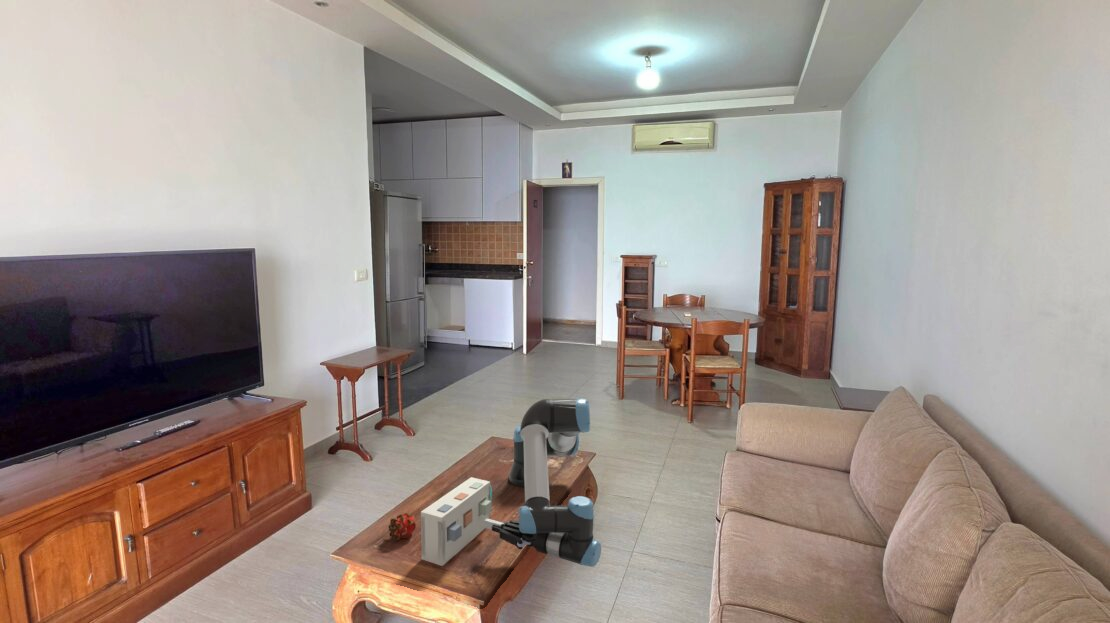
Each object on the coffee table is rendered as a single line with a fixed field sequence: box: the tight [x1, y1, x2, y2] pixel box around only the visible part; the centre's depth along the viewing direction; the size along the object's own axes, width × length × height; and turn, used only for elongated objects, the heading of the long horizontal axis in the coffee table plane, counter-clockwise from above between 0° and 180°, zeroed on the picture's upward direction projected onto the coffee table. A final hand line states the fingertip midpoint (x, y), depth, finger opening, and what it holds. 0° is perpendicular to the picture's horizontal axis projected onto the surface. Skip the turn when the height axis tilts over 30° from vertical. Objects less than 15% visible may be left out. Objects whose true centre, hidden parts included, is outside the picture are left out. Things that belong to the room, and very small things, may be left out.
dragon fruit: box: [388, 512, 417, 541], centre depth 187 cm, size 8×8×12 cm
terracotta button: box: [463, 511, 472, 526], centre depth 183 cm, size 4×5×4 cm
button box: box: [420, 476, 491, 567], centre depth 184 cm, size 28×8×16 cm, turn 155°
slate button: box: [447, 523, 462, 541], centre depth 174 cm, size 4×5×4 cm
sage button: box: [479, 499, 492, 515], centre depth 190 cm, size 4×5×4 cm
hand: (485, 523), depth 179 cm, fingers closed
